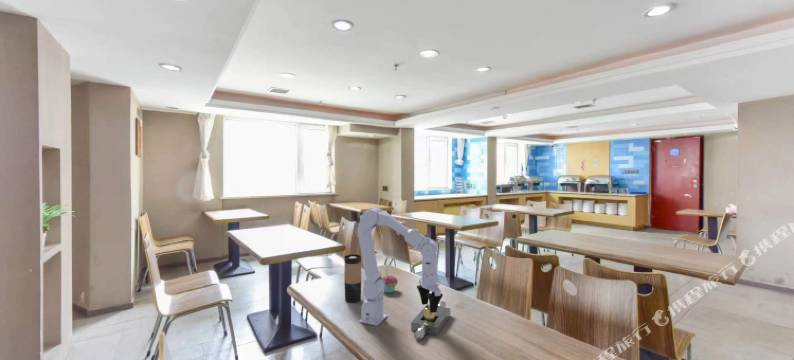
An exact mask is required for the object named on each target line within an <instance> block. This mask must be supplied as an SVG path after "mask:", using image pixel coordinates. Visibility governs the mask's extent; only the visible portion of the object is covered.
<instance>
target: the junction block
mask: <svg viewBox="0 0 794 360" xmlns="http://www.w3.org/2000/svg"><path fill="white" fill-rule="evenodd" d="M425 306H430V304H425ZM450 317H451V308H450V307H447V303H446V301H444V300H443V301H442V300H440V302H439V305H438V308H437V312H435V322H434V323H433V322H428V321H424V307H423V308H422V309H421V311H420V312H419V313H418V314H417V315H416V316H415V318H413V320H412V321H411V323H410V327H411V328H410V329H411V331H413V332H414V335H413V337H414V339H415V340H416V341H418V342H419V341H422V339H423V338H424V337H425V335H426V334H427V335H432V336H438V335H439V333H441V331H442V329H443V328H444V326H445V325H446V323H447V321H449V318H450Z"/></svg>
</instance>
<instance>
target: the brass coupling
mask: <svg viewBox="0 0 794 360" xmlns="http://www.w3.org/2000/svg"><path fill="white" fill-rule="evenodd" d="M423 308H424V321H428V322H433V323H434V322H435V312H433V313H431V311H430V306H426V305H425V306H424V307H423Z"/></svg>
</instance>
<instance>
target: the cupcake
mask: <svg viewBox="0 0 794 360" xmlns="http://www.w3.org/2000/svg"><path fill="white" fill-rule="evenodd" d="M388 274H389V272H388V269H387V268H385V275H386V276H383V277H382V278H383V280H384V281H385V288H384V290H383V291H384V292H385V293H388V294H389V293H393V292H394V291H395V288H396V286H397V285H398V279H397V278H396V277H394V276H393V275H388Z"/></svg>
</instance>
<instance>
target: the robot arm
mask: <svg viewBox="0 0 794 360" xmlns="http://www.w3.org/2000/svg"><path fill="white" fill-rule="evenodd" d="M359 218H360V221H359V224H358V226H357V236H358V242H359V247H360V253H361V260H362V264H363V269H364V278H363V289H362V293H363V296H364V298H365V299H364V302H363V303H362V304H361V308H360V314H361V315H360V318H361V319H360V320H359V321H358V322H359V323H362V324H366V325H367V324H368V325H372V326H378V325H379V324H381V323H382V322H383V321H384V320H385V319H386V318H387V317H388V314H384V292H383V291H384V288H385V281H384V280H383V277H382V273H381V271H379V267H378V263H377V257H376V252H375V245H374V241H373V236H372V231H373V230H374V229H375V227H377V226H387V227H389V228H390V229H392V230H393V231H395V232H397V234H399V235H401V236H403V238H404V241H405V242H406V243H407V244H409V245H410V246H412V247H413V248H414V249H416V250H417V251H419V252H420V255H421V256H422V257H421V259H422V260H421V277H420V278H418V283H419V285H417V286H416V289H417V291H418V294H419V297H420V301H421V302H420V303H421V305H422V306H424V305H425V306H426V305H427V304H428V303H429V304H428V305H430V311H431V313H433V312H437V308H438V305H439V303H440V302H441V301H442V298H443V295H444V294H443V293H442V292H441V289H440V288H439V286H440V282H438V260H437V258H438V255H437V252H438V250H439V245H438V242H436V241H435V239H432V238H430V237H428V236H425V235H424V234H422V233H421V232H420V230H419V229H417V228H416V229H415V228H408V227H407V226H405V225H404V224H403V223H401V222H400V221H399V220H398V219H396V218H395V217H394V216H392V215H391V214H390V213H388V211H386V210H383V209H382V207H373V208H371V209H367V210H365V211H363V213H362V214H361V215H360V217H359ZM430 292H431V293H430Z"/></svg>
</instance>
